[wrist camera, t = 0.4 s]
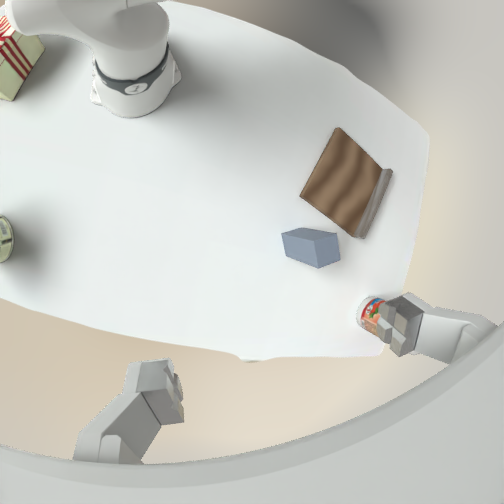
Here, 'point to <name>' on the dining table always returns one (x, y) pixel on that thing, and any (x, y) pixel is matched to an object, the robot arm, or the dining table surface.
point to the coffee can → (5, 239)
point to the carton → (311, 246)
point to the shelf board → (347, 185)
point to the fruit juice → (371, 316)
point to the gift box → (16, 58)
